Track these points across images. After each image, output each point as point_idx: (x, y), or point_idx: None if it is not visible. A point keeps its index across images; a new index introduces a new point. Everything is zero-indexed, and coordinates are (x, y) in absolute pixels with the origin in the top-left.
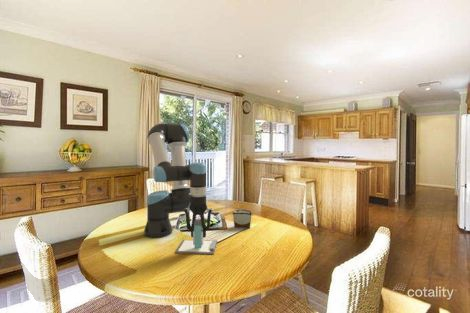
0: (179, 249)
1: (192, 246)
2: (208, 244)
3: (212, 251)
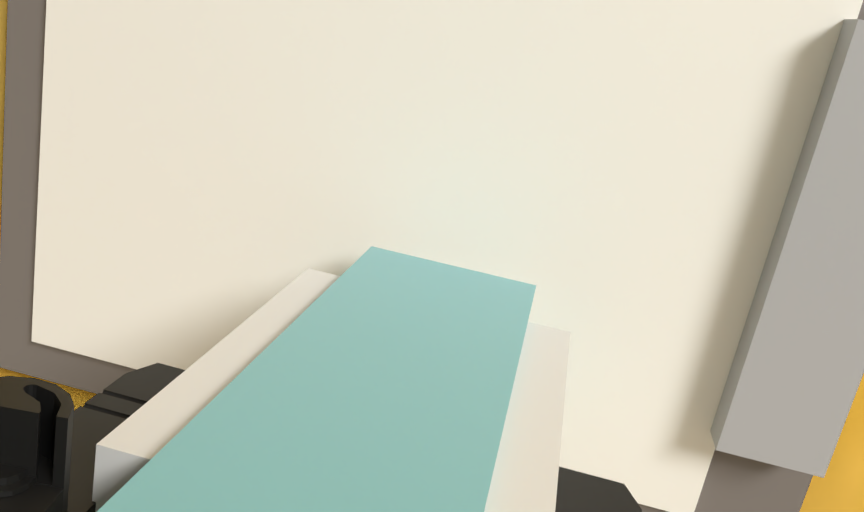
0: (47, 288)
1: (300, 187)
2: (711, 129)
3: (762, 491)
